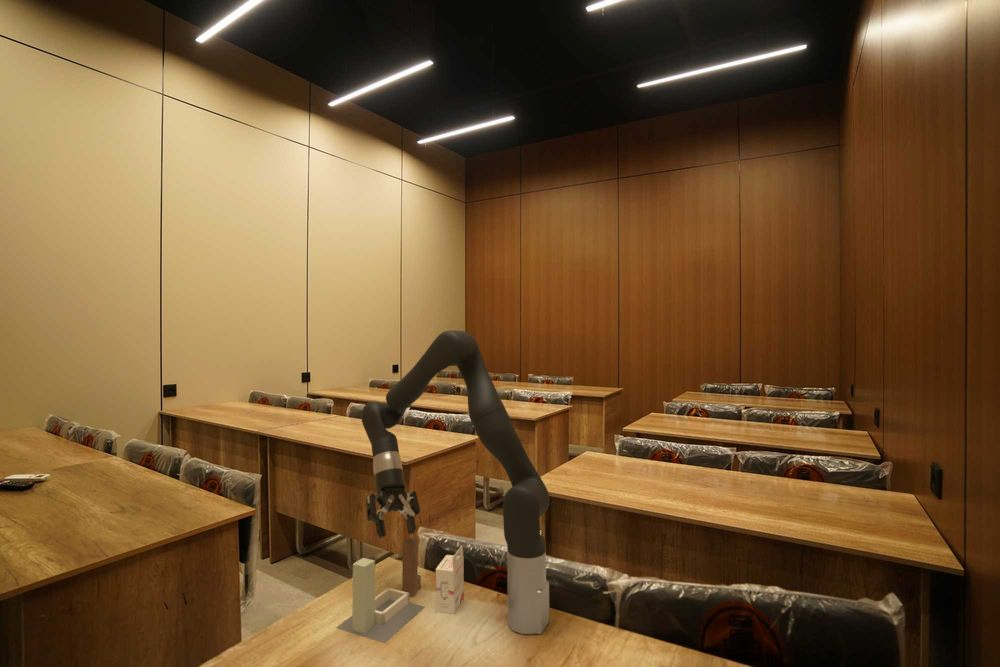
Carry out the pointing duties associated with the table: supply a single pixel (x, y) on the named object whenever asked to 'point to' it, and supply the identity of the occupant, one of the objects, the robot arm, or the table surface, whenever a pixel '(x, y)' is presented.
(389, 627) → the base plate
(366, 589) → the sage pillar
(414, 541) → the wooden block
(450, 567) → the ink cartridge box
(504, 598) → the table surface
